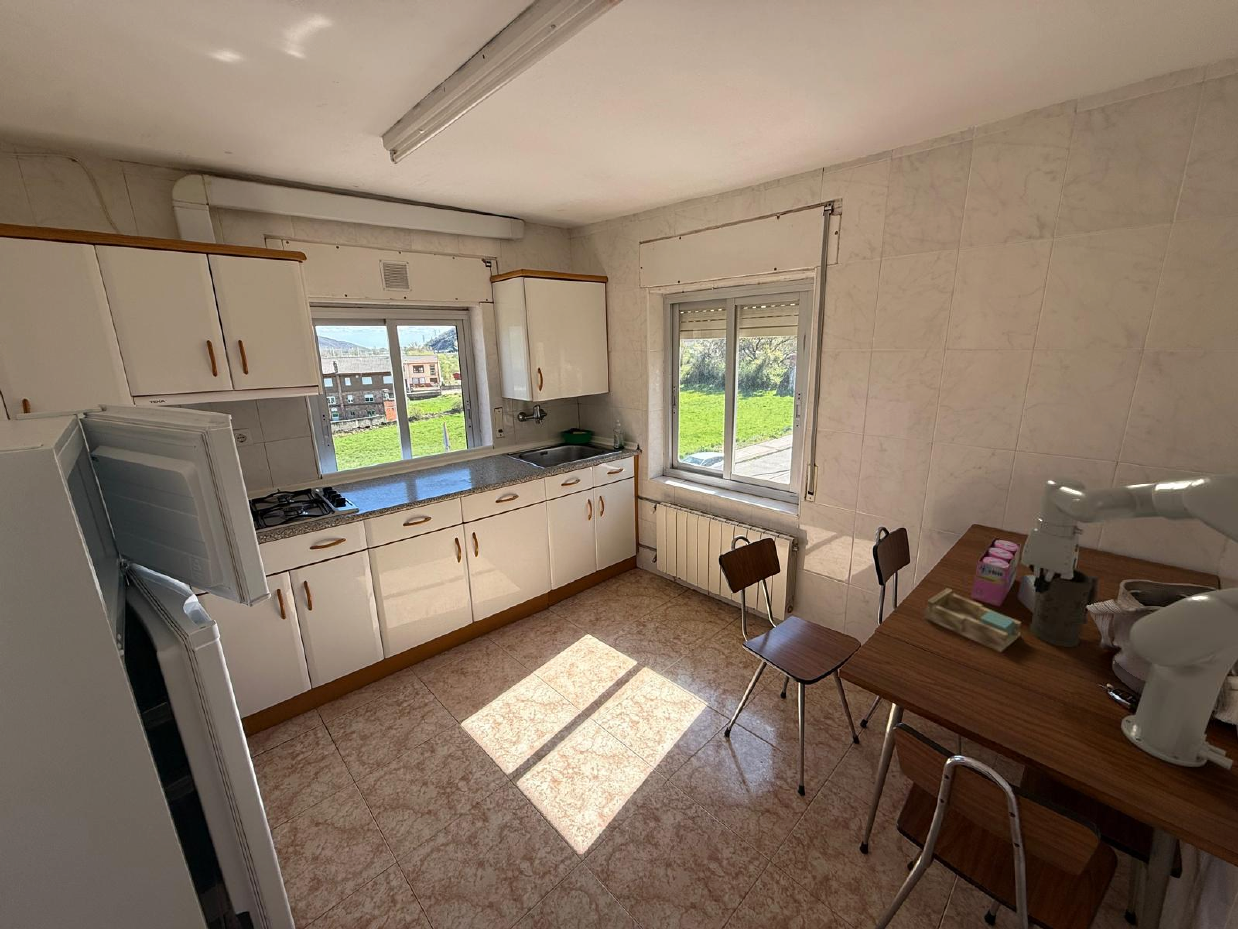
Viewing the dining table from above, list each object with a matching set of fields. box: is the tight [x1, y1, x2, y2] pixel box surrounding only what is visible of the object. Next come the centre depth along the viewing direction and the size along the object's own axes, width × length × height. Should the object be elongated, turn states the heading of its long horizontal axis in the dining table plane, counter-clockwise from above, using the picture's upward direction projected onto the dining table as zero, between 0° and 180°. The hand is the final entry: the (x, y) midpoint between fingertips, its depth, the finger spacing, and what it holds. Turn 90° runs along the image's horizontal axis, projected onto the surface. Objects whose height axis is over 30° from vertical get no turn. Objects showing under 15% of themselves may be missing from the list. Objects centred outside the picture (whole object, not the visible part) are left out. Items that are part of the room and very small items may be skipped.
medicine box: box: [1017, 574, 1038, 613], centre depth 153 cm, size 8×4×9 cm, turn 168°
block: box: [980, 610, 1016, 638], centre depth 140 cm, size 6×6×5 cm
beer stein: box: [1029, 569, 1099, 648], centre depth 139 cm, size 15×11×20 cm
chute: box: [924, 587, 1022, 653], centre depth 145 cm, size 20×12×6 cm, turn 33°
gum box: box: [970, 537, 1022, 607], centre depth 163 cm, size 24×8×14 cm, turn 133°
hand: (1040, 591), depth 130 cm, fingers closed
